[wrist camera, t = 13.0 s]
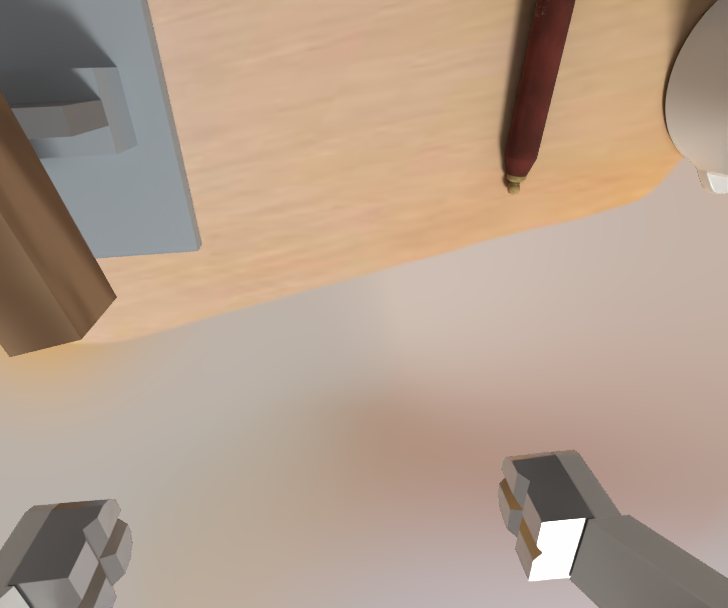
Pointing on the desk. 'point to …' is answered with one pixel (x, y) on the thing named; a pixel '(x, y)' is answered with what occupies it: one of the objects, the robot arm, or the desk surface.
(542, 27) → the gavel
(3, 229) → the bar
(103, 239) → the ridge stand
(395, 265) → the desk surface
